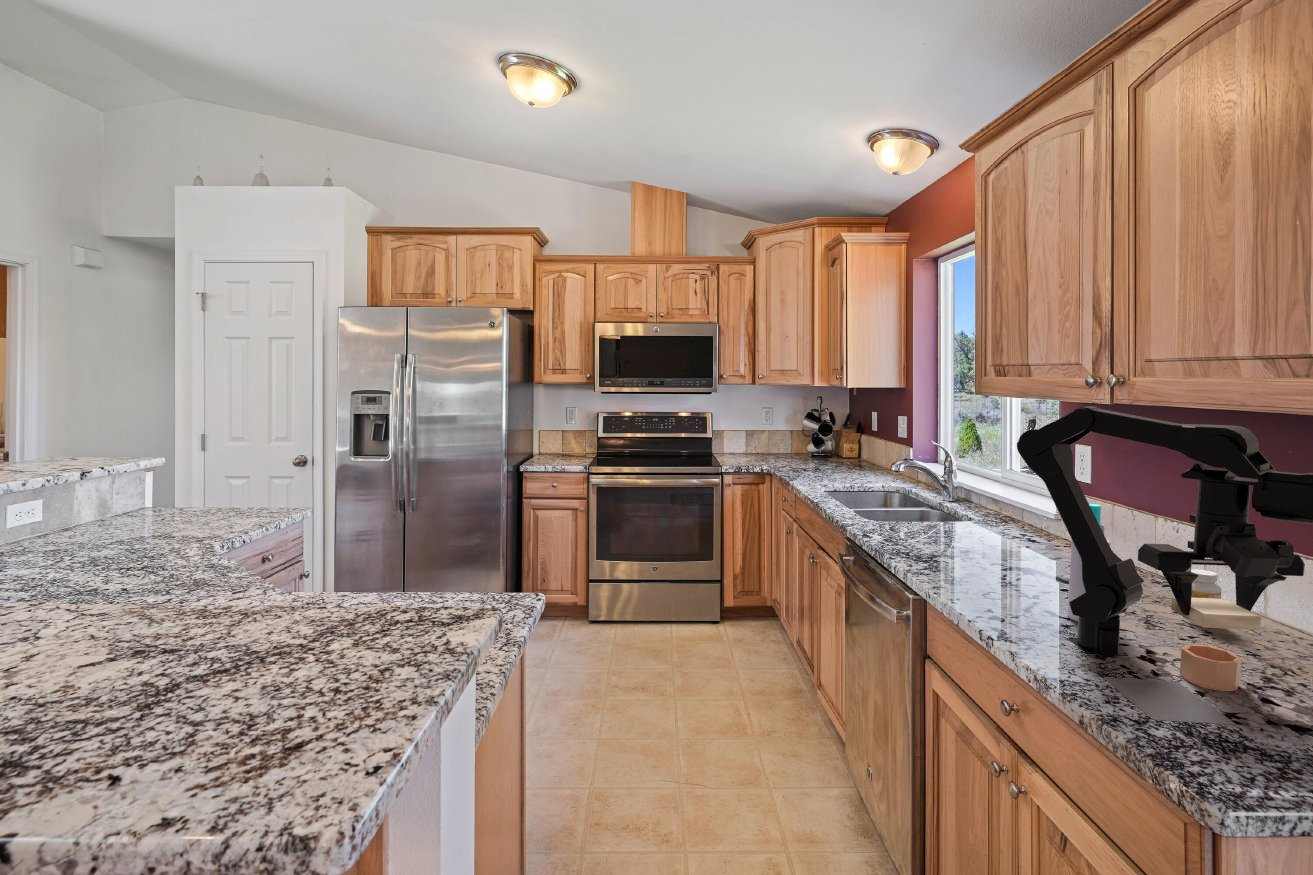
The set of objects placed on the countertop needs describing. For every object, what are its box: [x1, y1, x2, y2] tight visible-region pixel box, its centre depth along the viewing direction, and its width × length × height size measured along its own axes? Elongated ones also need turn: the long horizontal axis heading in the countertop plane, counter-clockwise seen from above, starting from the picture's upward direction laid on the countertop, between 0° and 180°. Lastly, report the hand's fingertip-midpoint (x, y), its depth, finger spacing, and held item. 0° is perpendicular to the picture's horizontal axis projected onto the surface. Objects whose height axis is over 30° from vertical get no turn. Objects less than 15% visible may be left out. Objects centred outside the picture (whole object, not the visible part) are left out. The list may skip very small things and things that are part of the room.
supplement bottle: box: [1181, 568, 1222, 627], centre depth 119 cm, size 5×5×10 cm
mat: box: [1103, 677, 1237, 726], centre depth 91 cm, size 12×10×1 cm
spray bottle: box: [1067, 503, 1111, 623], centre depth 121 cm, size 6×6×22 cm
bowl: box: [1179, 643, 1243, 692], centre depth 96 cm, size 6×6×5 cm
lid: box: [1170, 596, 1262, 631], centre depth 95 cm, size 7×7×2 cm
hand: (1213, 615), depth 95 cm, fingers closed on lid, 7 cm apart
